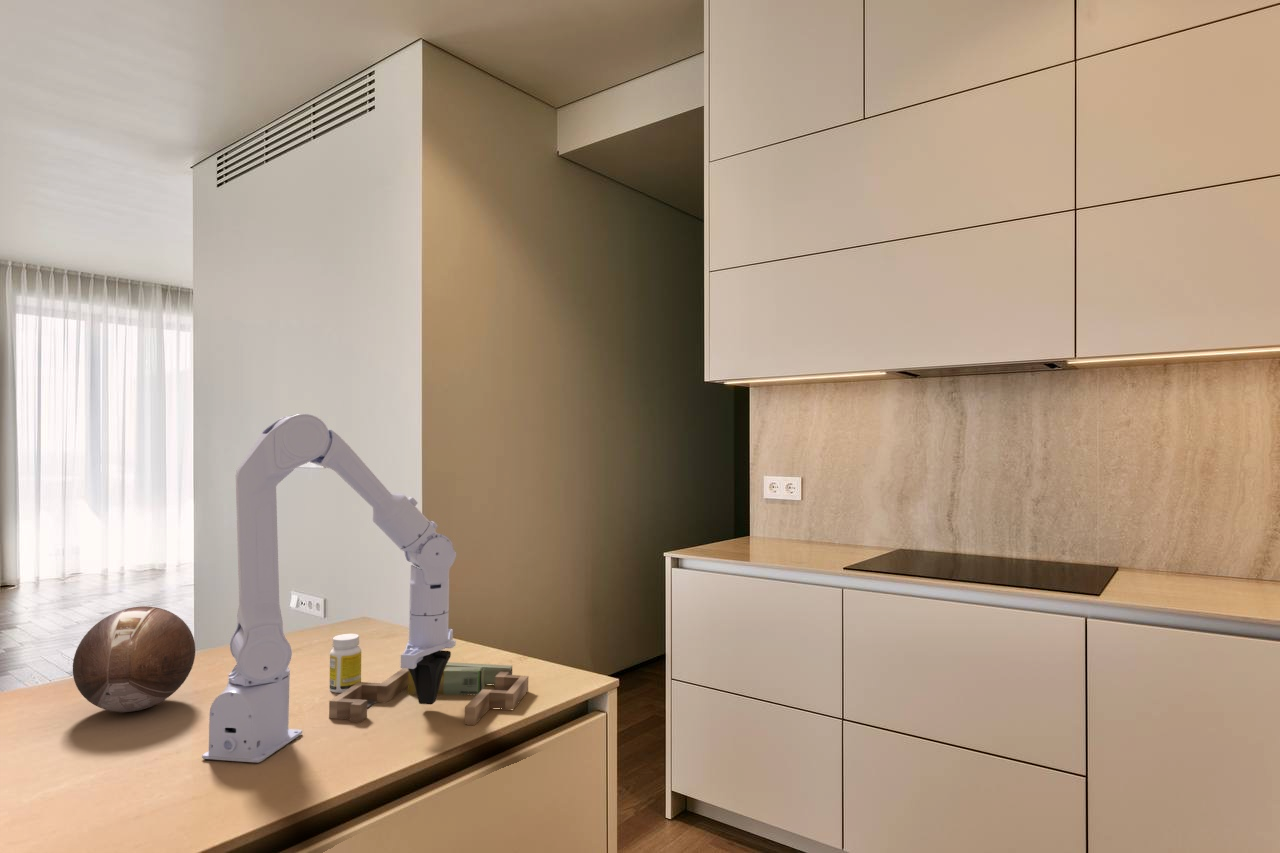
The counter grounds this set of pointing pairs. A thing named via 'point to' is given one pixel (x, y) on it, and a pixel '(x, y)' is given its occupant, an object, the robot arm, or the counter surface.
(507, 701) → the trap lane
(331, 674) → the supplement bottle
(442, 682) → the medication box
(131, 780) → the counter surface
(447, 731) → the counter surface
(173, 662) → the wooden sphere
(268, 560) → the robot arm
